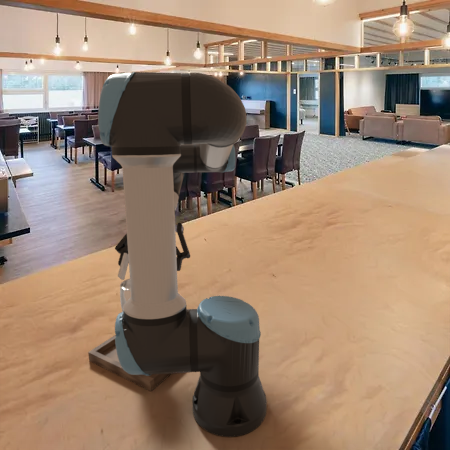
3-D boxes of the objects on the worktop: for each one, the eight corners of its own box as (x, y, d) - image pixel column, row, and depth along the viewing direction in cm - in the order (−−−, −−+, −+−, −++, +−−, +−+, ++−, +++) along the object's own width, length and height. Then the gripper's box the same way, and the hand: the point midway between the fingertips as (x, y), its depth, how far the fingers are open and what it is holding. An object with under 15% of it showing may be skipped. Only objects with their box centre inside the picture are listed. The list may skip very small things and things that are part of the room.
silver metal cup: (140, 328, 102) (136, 274, 97) (158, 337, 97) (155, 282, 93) (118, 340, 96) (112, 284, 92) (136, 350, 92) (132, 293, 88)
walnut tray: (203, 345, 102) (203, 336, 101) (150, 391, 85) (150, 381, 85) (146, 323, 112) (145, 315, 111) (89, 361, 96) (88, 352, 95)
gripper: (208, 216, 111) (196, 288, 101) (125, 212, 115) (106, 281, 106) (203, 203, 104) (189, 278, 95) (115, 199, 109) (94, 271, 99)
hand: (145, 280), depth 100 cm, fingers open, 13 cm apart
